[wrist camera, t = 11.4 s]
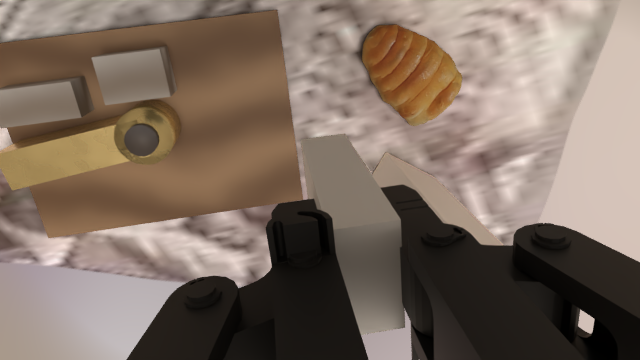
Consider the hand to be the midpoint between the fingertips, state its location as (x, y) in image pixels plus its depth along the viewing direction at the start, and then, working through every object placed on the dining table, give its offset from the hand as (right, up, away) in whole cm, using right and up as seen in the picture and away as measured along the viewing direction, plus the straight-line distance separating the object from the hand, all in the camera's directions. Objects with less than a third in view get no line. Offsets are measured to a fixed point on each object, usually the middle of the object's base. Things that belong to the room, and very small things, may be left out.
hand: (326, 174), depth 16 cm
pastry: (+8, +9, +26) cm, 29 cm away
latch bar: (-19, +3, +23) cm, 30 cm away
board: (-15, +4, +25) cm, 29 cm away
